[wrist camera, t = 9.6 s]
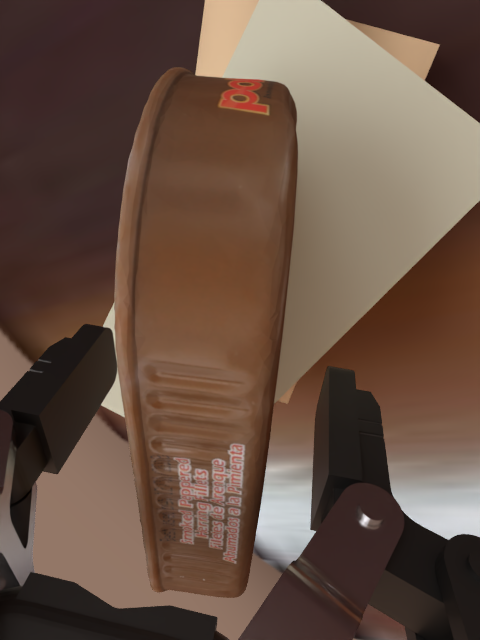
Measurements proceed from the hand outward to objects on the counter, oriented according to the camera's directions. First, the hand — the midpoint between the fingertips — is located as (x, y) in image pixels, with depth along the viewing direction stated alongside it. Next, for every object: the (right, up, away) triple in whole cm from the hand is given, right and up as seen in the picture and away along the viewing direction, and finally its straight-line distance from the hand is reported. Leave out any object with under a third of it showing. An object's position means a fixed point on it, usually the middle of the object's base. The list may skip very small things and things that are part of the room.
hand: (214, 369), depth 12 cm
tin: (+1, +2, +3) cm, 4 cm away
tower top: (+1, +5, +7) cm, 8 cm away
